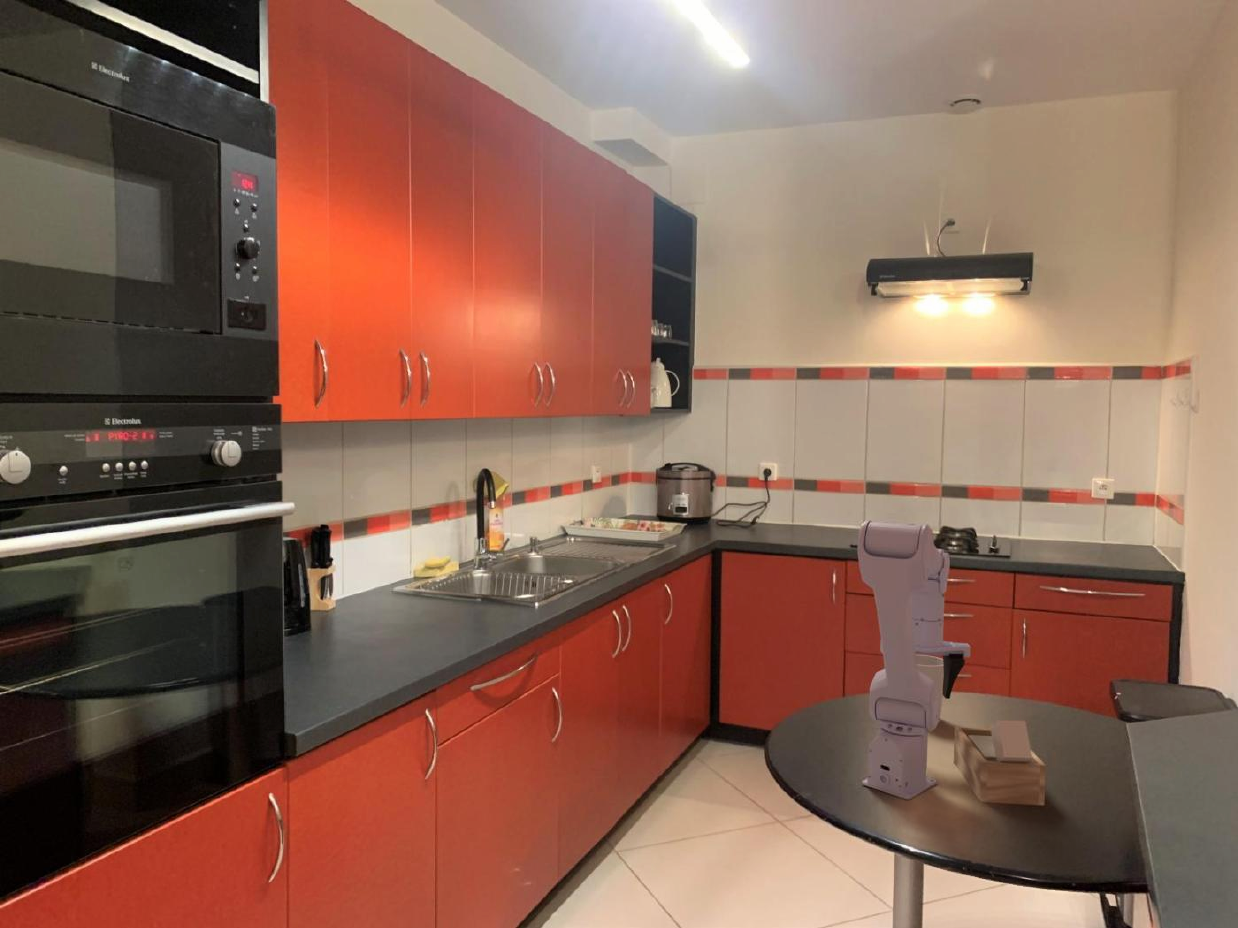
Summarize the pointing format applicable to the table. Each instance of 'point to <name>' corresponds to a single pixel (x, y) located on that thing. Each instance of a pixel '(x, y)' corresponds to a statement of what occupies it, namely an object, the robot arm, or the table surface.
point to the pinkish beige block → (1011, 741)
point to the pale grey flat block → (985, 746)
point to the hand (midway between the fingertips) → (923, 695)
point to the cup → (932, 672)
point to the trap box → (998, 773)
